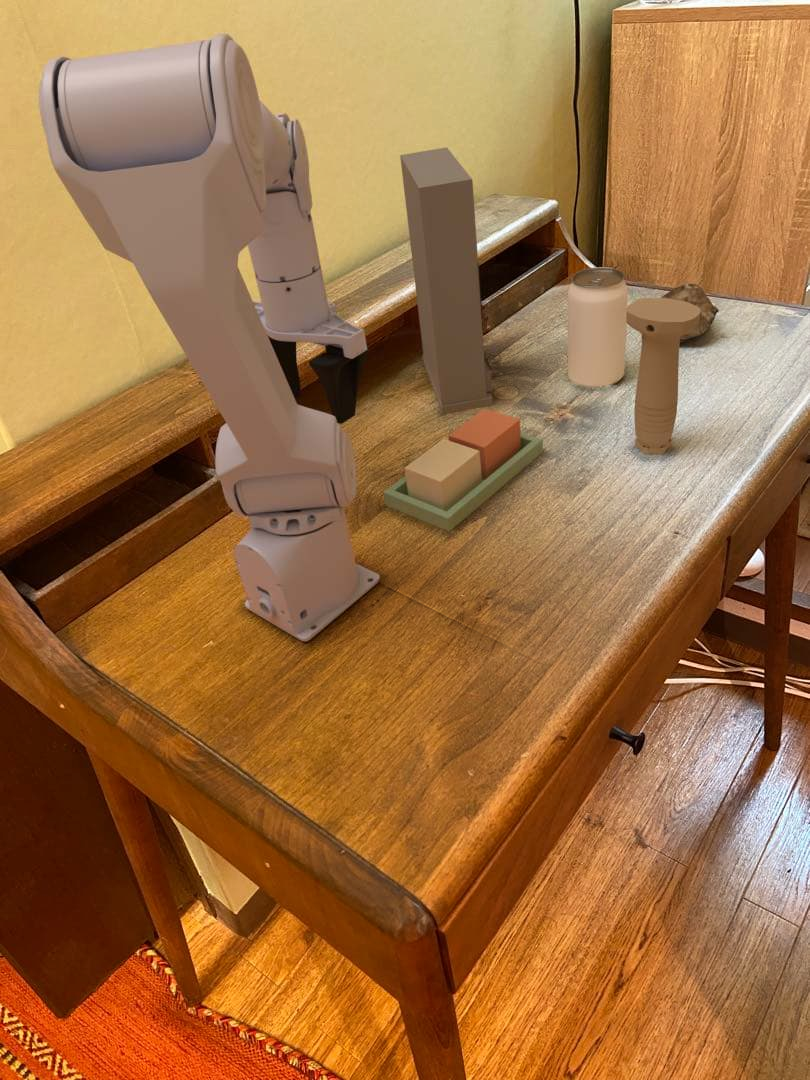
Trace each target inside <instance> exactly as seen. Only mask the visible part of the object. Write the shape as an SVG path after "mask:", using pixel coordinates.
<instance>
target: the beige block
mask: <svg viewBox="0 0 810 1080" xmlns="http://www.w3.org/2000/svg"><path fill="white" fill-rule="evenodd" d="M404 474H405V475H404V476H406V482H407V489H408V496H409V497H412V498H414V499H417V500H419V501H422V502H424V503H427V504H429V505H432V506H434V507H437V508H439V509H442V510H444V511H448V510H449V509H450V508H452V507H453V506H454V505H455V504H456V503H458V502H459V501H460V500H461V499H462V498H464V497H465V496H466V495H467V494H468V493H470V492H471V491H472V490H473V489H475V488H476V487H477V486H478V485H479V484H481V483H482V475H481V463H480V451H478V450H475V449H472V448H469V447H466V446H463V445H460V444H457V443H454V442H451V441H449V439H445V438H442V439H441V440H439V441H438V442H437V443H436V444H434V445H433V446H431V447H430V448H429V449H428V450H426V451H425V452H424V453H422V454H421V455H420V456H418V457H417V458H416V459H414V460H413V461H412V462H410V463H409V464H408V465H406V466H405V467H404Z"/></svg>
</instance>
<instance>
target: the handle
mask: <svg viewBox="0 0 810 1080" xmlns="http://www.w3.org/2000/svg"><path fill="white" fill-rule="evenodd" d="M700 312H701V310H700V307H697V306H695V305H693V304H691V303H688V302H685V301H681V300H675V299H669V298H661V297H643V298H639V299H636V300H634V301H632V302H631V303H630V304H628V305H627V314H626V321H627V325H628V326H629V327H631V328H632V329H634V330H635V331H637V332H638V333H640V334H641V347H640V357H639V364H638V365H639V366H638V372H637V373H638V374H637V381H636V388H635V396H634V411H633V412H634V413H633V414H634V417H633V419H634V432H635V437H636V438H635V441H634V442H635V448H636V449H638V450H640V451H641V453H642V454H643V455H645V456H651V455H660V456H661V455H664V454H666V451H667V450H668V449H670V448H671V443H672V436H673V433H674V428H675V424H676V420H677V419H676V418H677V412H678V403H679V402H678V401H679V362H680V343H681V342H680V338H681V336H682V335H685V334H687V333H689V332H691V331H692V330H694V329H695V328H696V327H697V326H698V324H699V320H700Z"/></svg>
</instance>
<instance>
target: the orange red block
mask: <svg viewBox="0 0 810 1080" xmlns="http://www.w3.org/2000/svg"><path fill="white" fill-rule="evenodd" d="M520 432H521V420H520V418H517V417H513V416H510V415H506V414H503V413H500V412H497V411H493V410H489V409H487V408H482V410H481V411H479V412H477V413H476V414H475V415H474V416H472V417H471V418H469V419H468V420H466V421H465V422H464V423H462V424H461V425H460V426H458V427H457V428H456V429H455V430H454V431H452V432H451V433H449V434H448V441H451V442H454V443H457V444H460V445H463V446H466V447H469V448H472V449H475V450H478V451H480V463H481V475H482V479H483V480H485V479H487V478H488V477H489V476H490V475H491V474H493V473H494V472H495V471H496V470H498V469H499V468H500V467H501V466H502V465H504V464H505V463H506V462H507V461H508V460H510V459H511V458H512V457H513V456H514V455H516V454H517V453H518V452H519V451H521V437H520Z"/></svg>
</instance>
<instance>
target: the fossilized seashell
mask: <svg viewBox="0 0 810 1080" xmlns="http://www.w3.org/2000/svg"><path fill="white" fill-rule="evenodd" d="M660 298H669V299H675V300H681V301H685V302H688V303H691V304H693V305H695V306H697V307H700V310H701V312H700V320H699V324H698V326H697V327H696V328H695V329H694V330H692V331H691V332H689V333H687V334H685V335H682V336H681V338H680V343H684V342H691V341H695V340H697V339H700V338H701V337H703V336H705V335H706V334H707V333H708V332H709V331H710V328H711V326H712V325H713V323H714V320H715V318H716V315H717V313H719V312H720V310H719V308H717V306H715V305H714V304H713V302H712V301H711V299H710V298H709V296H707V294H706V292H705V291H704V290H703V288H702V287H701V286H700V285H698V284H696V283H685V284H682V285H679V286H677V287H675V288H673V289H671V290H670V291H668V292H667V293H665V294H664V295H662V296H661V297H660Z"/></svg>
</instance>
